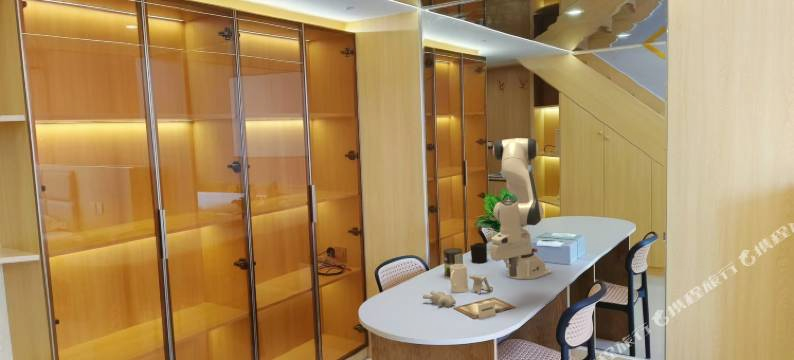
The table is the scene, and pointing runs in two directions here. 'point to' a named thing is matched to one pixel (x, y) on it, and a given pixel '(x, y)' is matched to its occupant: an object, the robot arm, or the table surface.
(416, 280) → the table surface
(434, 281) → the table surface
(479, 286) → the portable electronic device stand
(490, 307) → the word card
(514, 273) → the marker
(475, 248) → the pen holder
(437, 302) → the bunny figurine
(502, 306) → the picture frame
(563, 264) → the table surface
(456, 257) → the coffee can
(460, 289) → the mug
